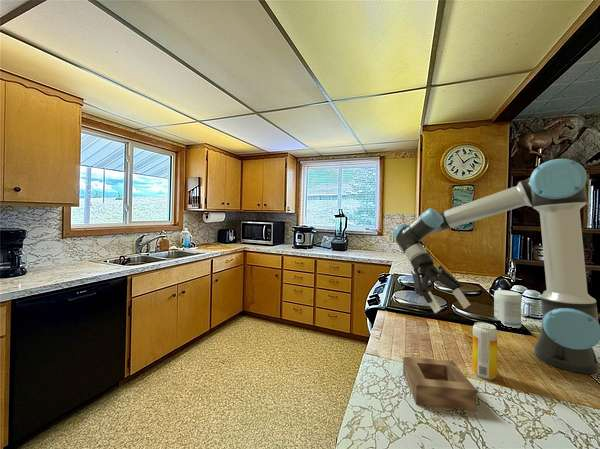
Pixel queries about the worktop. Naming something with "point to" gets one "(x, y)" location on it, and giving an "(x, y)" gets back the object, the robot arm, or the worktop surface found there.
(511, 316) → the supplement tub
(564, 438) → the worktop surface
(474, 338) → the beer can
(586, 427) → the worktop surface
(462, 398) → the walnut socket holder
